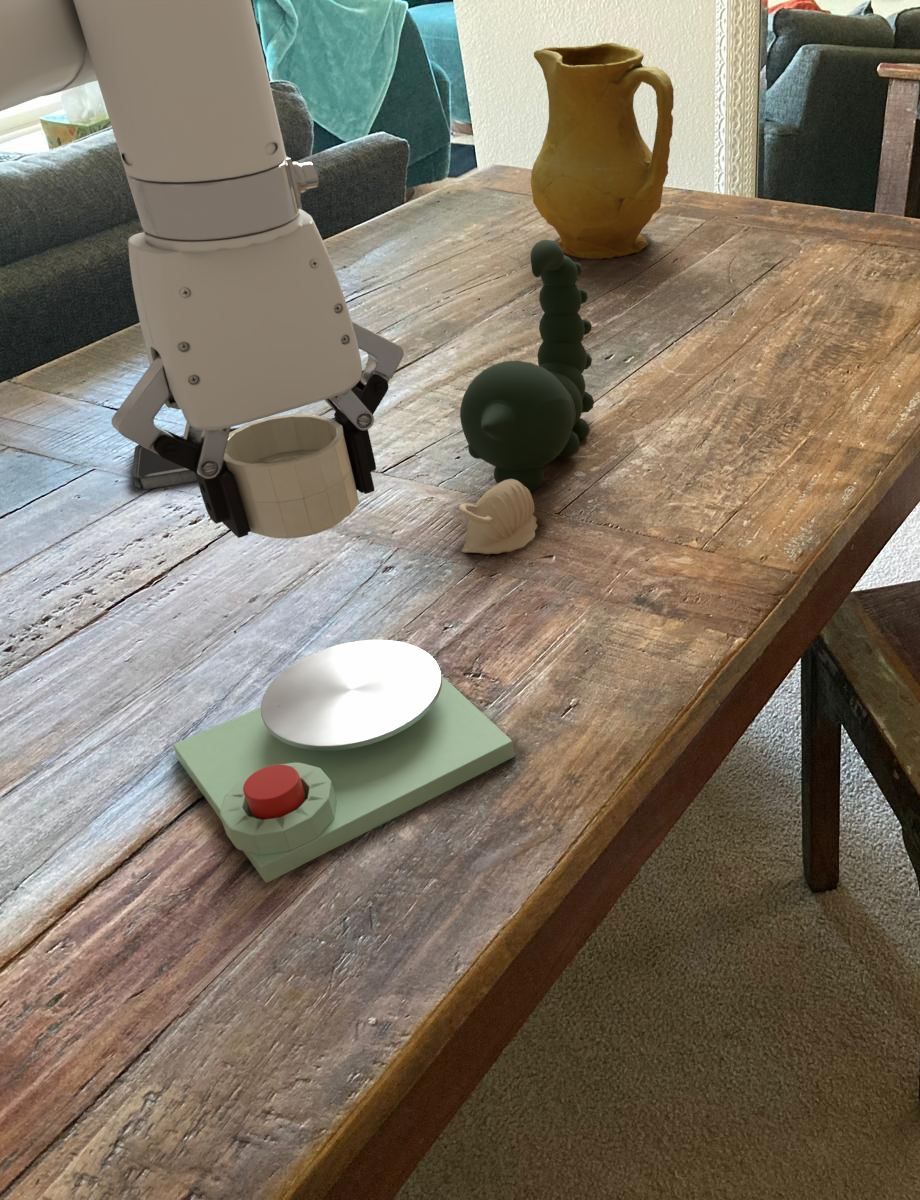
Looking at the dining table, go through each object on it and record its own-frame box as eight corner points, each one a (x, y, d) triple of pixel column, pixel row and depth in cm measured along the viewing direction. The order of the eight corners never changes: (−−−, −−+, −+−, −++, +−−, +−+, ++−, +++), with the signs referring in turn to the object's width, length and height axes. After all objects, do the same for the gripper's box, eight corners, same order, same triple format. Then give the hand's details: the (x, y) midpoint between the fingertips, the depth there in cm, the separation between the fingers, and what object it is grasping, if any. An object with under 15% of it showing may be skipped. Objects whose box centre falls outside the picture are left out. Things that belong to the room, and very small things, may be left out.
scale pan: (306, 776, 70) (304, 771, 70) (234, 690, 77) (233, 685, 77) (473, 698, 76) (472, 693, 76) (394, 624, 83) (392, 620, 83)
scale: (258, 889, 67) (244, 850, 65) (171, 764, 75) (157, 727, 74) (515, 757, 76) (509, 721, 74) (411, 660, 85) (404, 625, 83)
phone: (312, 450, 109) (130, 479, 104) (315, 462, 110) (134, 491, 105) (307, 416, 115) (135, 442, 110) (309, 427, 116) (139, 453, 111)
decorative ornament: (553, 527, 100) (546, 470, 97) (484, 574, 94) (474, 514, 91) (515, 515, 102) (507, 459, 99) (446, 560, 96) (435, 501, 93)
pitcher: (616, 215, 174) (601, 28, 159) (696, 252, 163) (689, 55, 148) (513, 243, 164) (488, 47, 149) (591, 284, 154) (572, 78, 138)
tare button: (262, 827, 67) (255, 807, 66) (241, 800, 69) (234, 780, 68) (313, 803, 69) (307, 782, 68) (292, 776, 71) (286, 756, 70)
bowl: (268, 557, 68) (245, 478, 65) (222, 513, 72) (198, 437, 69) (380, 516, 71) (363, 440, 69) (330, 477, 76) (312, 404, 73)
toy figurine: (531, 417, 122) (441, 519, 100) (512, 226, 113) (408, 292, 91) (622, 422, 121) (551, 525, 99) (610, 229, 112) (529, 297, 90)
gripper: (346, 159, 68) (403, 441, 78) (10, 219, 59) (124, 532, 69) (408, 185, 64) (461, 481, 74) (55, 255, 54) (170, 585, 64)
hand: (298, 503), depth 71 cm, fingers closed on bowl, 6 cm apart
